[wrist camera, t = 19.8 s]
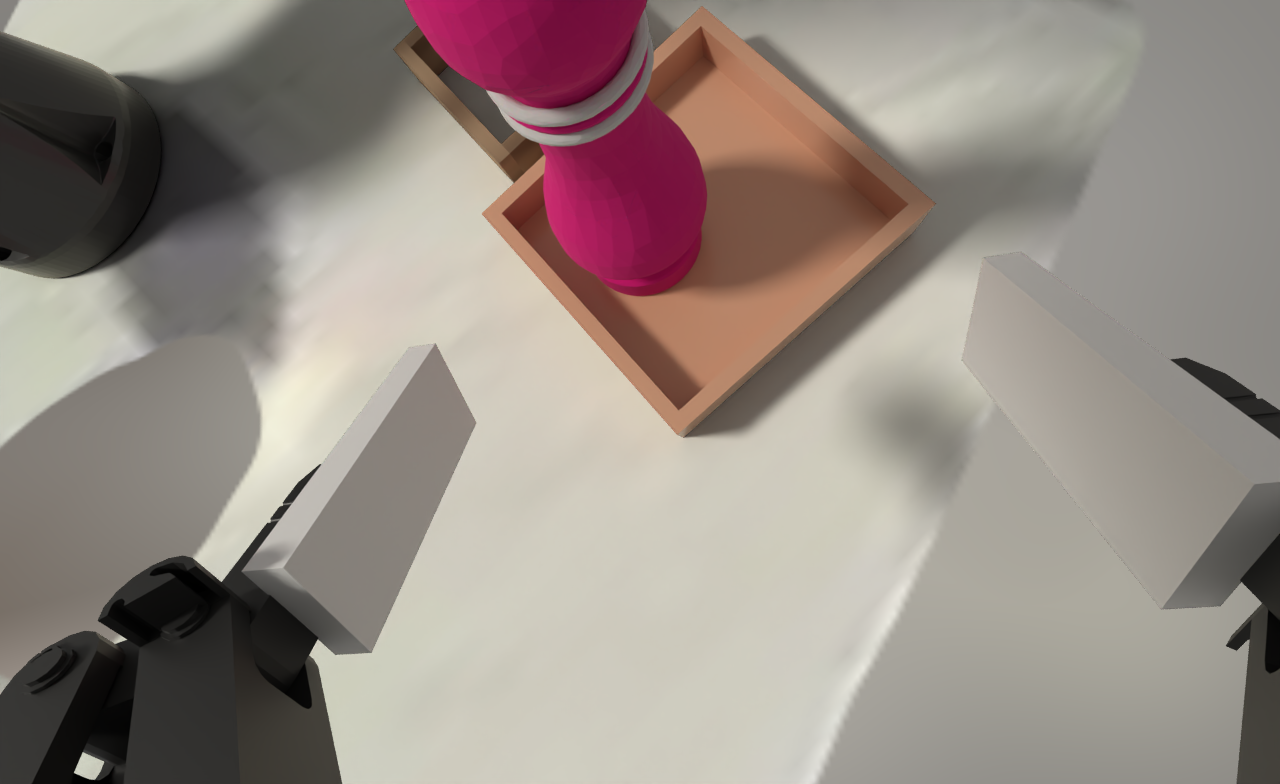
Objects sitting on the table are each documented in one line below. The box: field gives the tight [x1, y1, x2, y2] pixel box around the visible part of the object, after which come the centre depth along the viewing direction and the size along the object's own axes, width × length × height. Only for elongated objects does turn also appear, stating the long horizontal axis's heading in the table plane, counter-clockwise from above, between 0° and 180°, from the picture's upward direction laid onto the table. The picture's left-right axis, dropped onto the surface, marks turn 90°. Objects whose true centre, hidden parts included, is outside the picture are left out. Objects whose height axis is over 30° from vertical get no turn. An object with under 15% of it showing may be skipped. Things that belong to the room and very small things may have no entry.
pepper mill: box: [405, 0, 707, 296], centre depth 18 cm, size 7×7×20 cm
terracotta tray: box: [482, 6, 936, 438], centre depth 27 cm, size 16×16×3 cm
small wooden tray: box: [393, 25, 544, 183], centre depth 30 cm, size 11×11×2 cm
